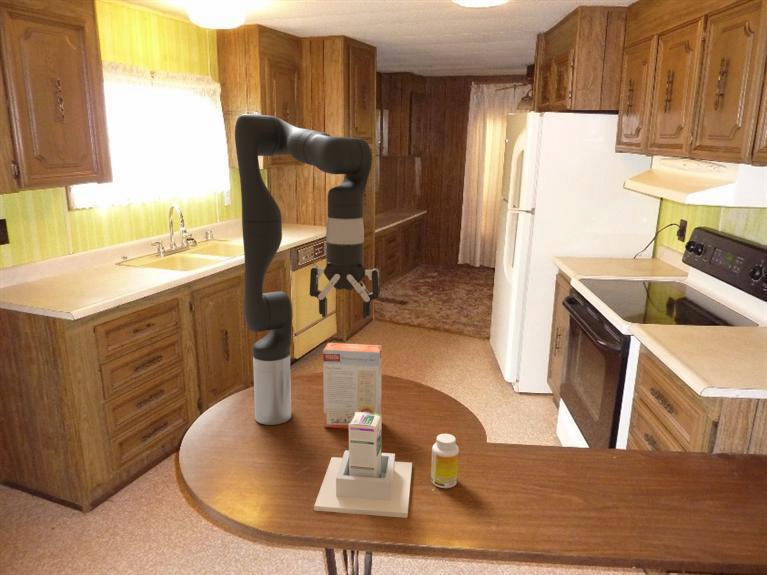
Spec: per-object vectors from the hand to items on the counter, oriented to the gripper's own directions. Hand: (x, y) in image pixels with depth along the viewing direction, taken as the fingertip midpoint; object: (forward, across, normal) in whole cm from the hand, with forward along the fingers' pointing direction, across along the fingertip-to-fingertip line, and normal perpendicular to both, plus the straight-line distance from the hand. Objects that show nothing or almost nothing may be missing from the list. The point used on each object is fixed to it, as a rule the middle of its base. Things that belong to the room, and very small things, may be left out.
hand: (344, 317), depth 117 cm
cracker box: (+34, +1, -19) cm, 39 cm away
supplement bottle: (+34, -22, +4) cm, 41 cm away
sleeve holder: (+34, -6, +8) cm, 36 cm away
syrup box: (+33, -6, +8) cm, 35 cm away
